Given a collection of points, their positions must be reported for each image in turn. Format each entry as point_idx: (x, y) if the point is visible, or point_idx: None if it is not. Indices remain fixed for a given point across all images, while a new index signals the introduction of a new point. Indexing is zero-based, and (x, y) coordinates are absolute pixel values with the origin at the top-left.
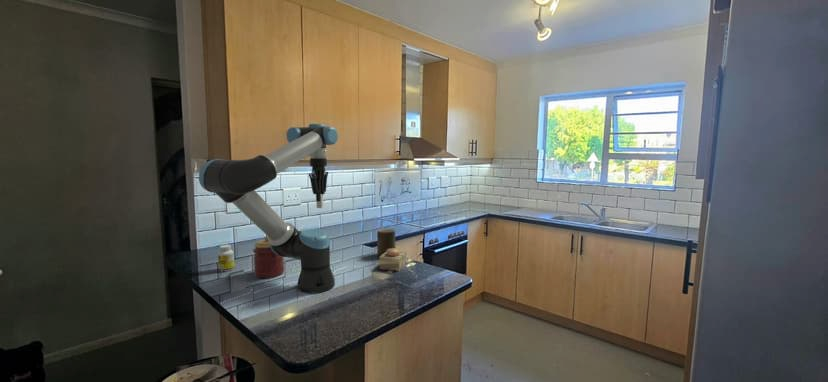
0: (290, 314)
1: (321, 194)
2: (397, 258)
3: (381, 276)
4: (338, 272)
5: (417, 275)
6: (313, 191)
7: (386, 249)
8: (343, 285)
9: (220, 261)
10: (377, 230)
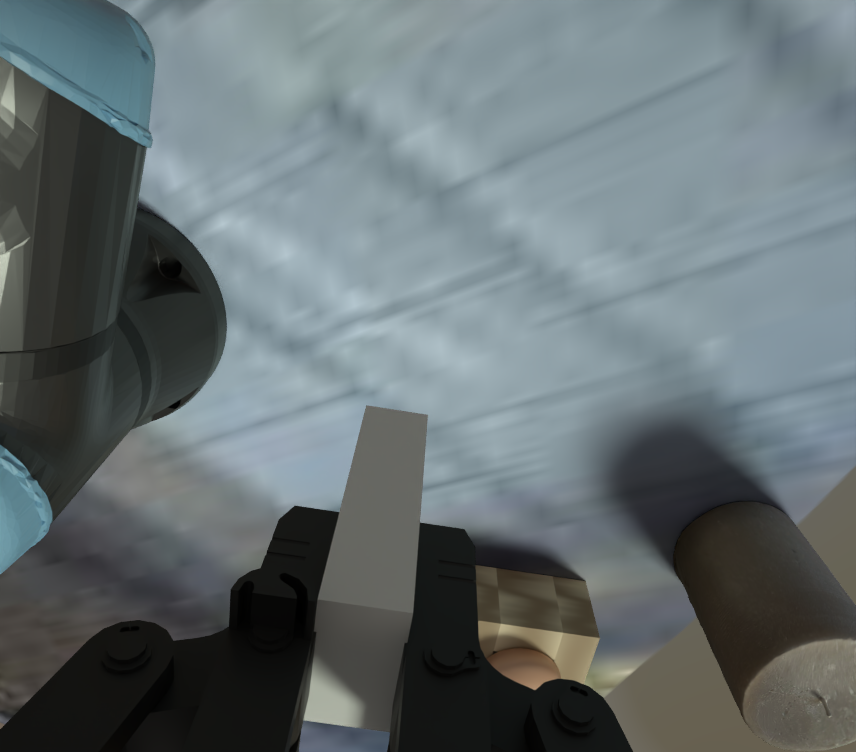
0: None
1: (325, 720)
2: None
3: None
4: (361, 357)
5: None
6: (64, 698)
7: (692, 602)
8: (178, 449)
9: None
10: (821, 641)
